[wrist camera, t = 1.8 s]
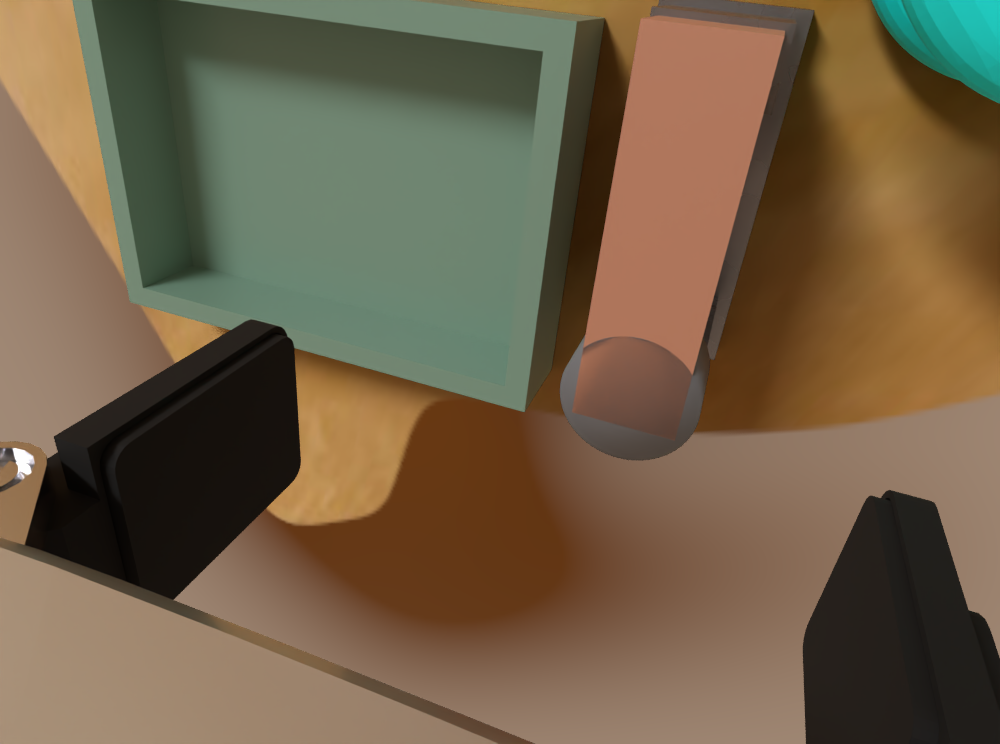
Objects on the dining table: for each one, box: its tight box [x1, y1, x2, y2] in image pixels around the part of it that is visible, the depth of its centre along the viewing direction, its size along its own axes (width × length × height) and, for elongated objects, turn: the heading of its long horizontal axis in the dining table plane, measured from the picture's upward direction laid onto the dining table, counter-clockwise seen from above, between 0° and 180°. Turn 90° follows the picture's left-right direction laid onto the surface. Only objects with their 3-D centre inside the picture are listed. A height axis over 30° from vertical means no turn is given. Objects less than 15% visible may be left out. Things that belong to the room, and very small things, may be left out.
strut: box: [560, 15, 785, 460], centre depth 22 cm, size 13×5×3 cm, turn 174°
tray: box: [73, 0, 605, 412], centre depth 30 cm, size 21×15×4 cm
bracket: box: [650, 0, 814, 360], centre depth 25 cm, size 13×5×6 cm, turn 174°
